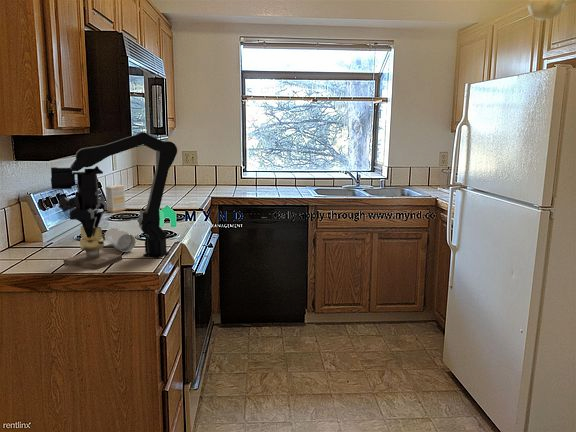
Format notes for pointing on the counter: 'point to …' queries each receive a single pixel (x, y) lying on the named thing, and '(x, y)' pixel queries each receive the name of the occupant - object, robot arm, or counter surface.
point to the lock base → (93, 259)
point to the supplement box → (115, 198)
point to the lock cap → (92, 240)
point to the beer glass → (120, 239)
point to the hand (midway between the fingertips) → (91, 236)
